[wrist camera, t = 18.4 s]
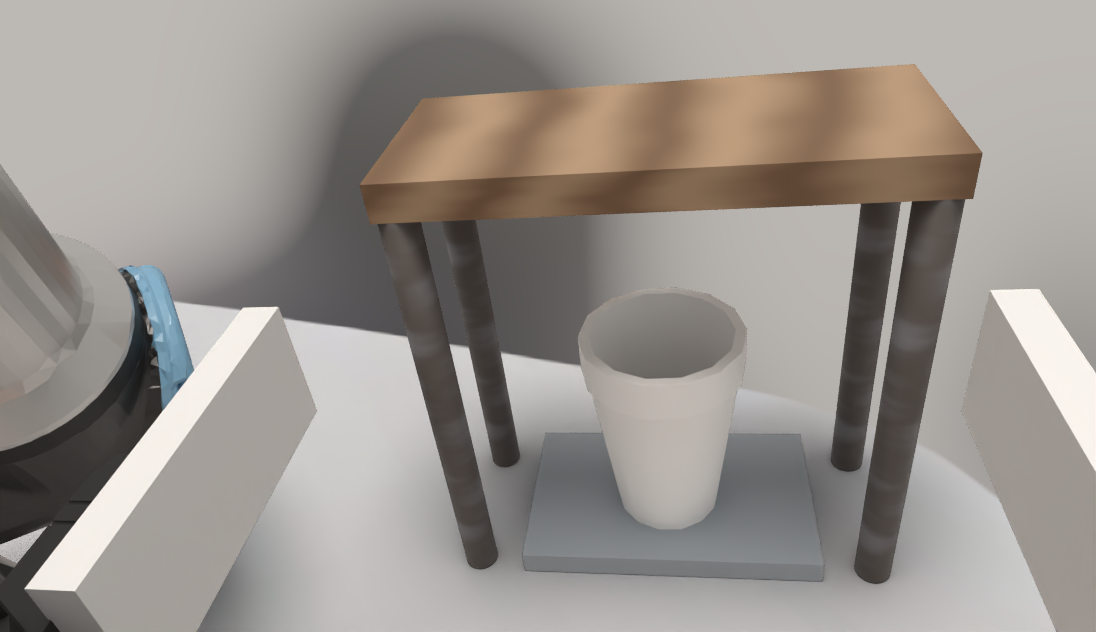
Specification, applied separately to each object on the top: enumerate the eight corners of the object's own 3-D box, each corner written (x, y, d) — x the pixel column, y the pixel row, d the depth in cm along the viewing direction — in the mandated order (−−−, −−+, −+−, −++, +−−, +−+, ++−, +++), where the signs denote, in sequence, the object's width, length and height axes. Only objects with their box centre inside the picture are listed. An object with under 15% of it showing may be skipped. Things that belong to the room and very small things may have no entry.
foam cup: (616, 433, 57) (602, 282, 50) (748, 451, 54) (753, 293, 47) (581, 536, 50) (558, 376, 43) (730, 562, 47) (734, 396, 40)
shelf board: (525, 570, 50) (522, 555, 49) (548, 447, 59) (545, 432, 58) (822, 581, 47) (824, 565, 46) (799, 449, 56) (800, 434, 55)
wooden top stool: (464, 568, 51) (359, 184, 36) (495, 447, 60) (422, 98, 45) (893, 583, 46) (982, 152, 31) (858, 450, 55) (914, 64, 40)
